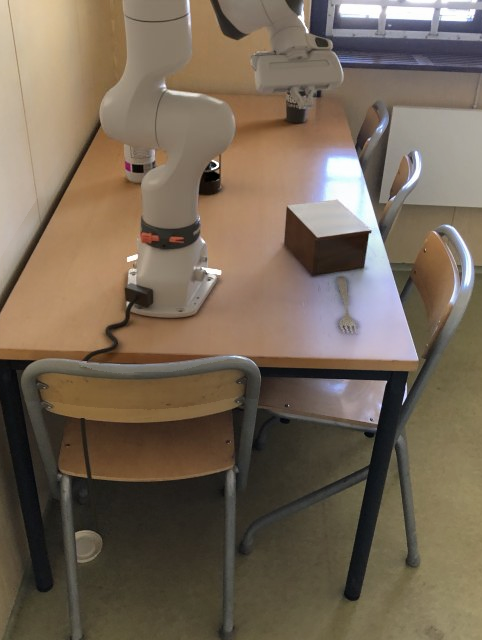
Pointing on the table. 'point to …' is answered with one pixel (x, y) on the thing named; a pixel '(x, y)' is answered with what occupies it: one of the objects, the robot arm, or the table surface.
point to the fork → (346, 318)
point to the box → (324, 249)
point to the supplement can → (138, 162)
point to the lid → (328, 220)
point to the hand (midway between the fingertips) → (306, 107)
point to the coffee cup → (295, 109)
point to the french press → (211, 178)
